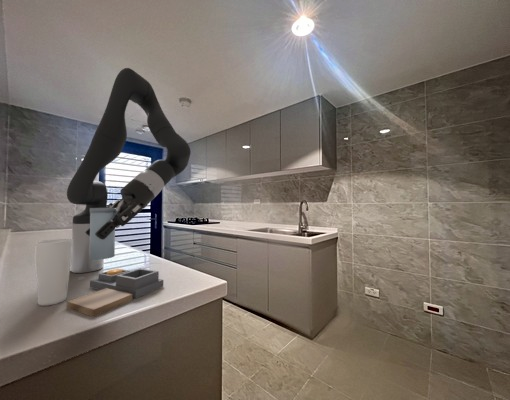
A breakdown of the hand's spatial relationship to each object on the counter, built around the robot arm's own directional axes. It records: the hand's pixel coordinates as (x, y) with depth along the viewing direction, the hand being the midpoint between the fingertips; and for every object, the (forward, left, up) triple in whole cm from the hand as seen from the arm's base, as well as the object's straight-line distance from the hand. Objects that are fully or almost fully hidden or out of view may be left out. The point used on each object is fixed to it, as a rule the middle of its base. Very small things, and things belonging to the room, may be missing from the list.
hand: (93, 236), depth 52 cm
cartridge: (0, +2, -5) cm, 6 cm away
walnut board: (0, +2, -17) cm, 17 cm away
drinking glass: (-12, -2, -17) cm, 21 cm away
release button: (-10, +12, -15) cm, 21 cm away
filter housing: (-4, +12, -17) cm, 21 cm away
